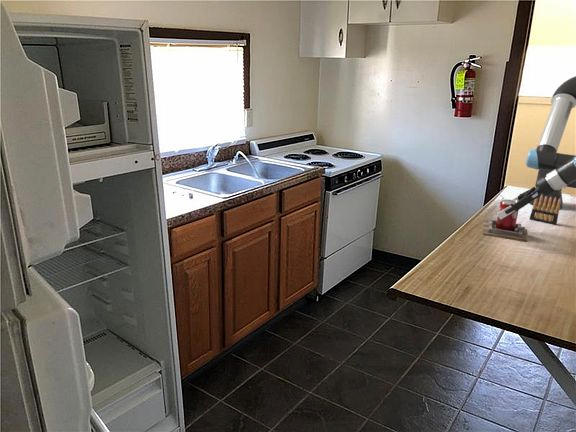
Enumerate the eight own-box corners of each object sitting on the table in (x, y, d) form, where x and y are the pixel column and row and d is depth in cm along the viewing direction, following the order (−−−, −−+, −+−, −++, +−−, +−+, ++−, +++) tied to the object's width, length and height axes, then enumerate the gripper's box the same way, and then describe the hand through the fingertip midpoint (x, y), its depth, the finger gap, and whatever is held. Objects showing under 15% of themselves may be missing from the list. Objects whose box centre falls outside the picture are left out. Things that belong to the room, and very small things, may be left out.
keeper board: (484, 222, 207) (484, 217, 206) (524, 228, 201) (525, 223, 200) (483, 234, 193) (484, 229, 192) (526, 241, 187) (527, 236, 186)
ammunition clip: (556, 224, 208) (563, 198, 204) (555, 225, 207) (562, 198, 203) (530, 218, 214) (535, 192, 210) (529, 219, 213) (534, 193, 209)
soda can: (495, 231, 195) (500, 203, 190) (495, 225, 201) (500, 198, 197) (514, 234, 192) (520, 206, 188) (514, 227, 198) (519, 200, 194)
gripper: (554, 198, 173) (501, 228, 185) (559, 184, 192) (512, 212, 205) (541, 182, 173) (490, 212, 186) (548, 169, 193) (501, 197, 206)
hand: (501, 212), depth 195 cm, fingers open, 13 cm apart
